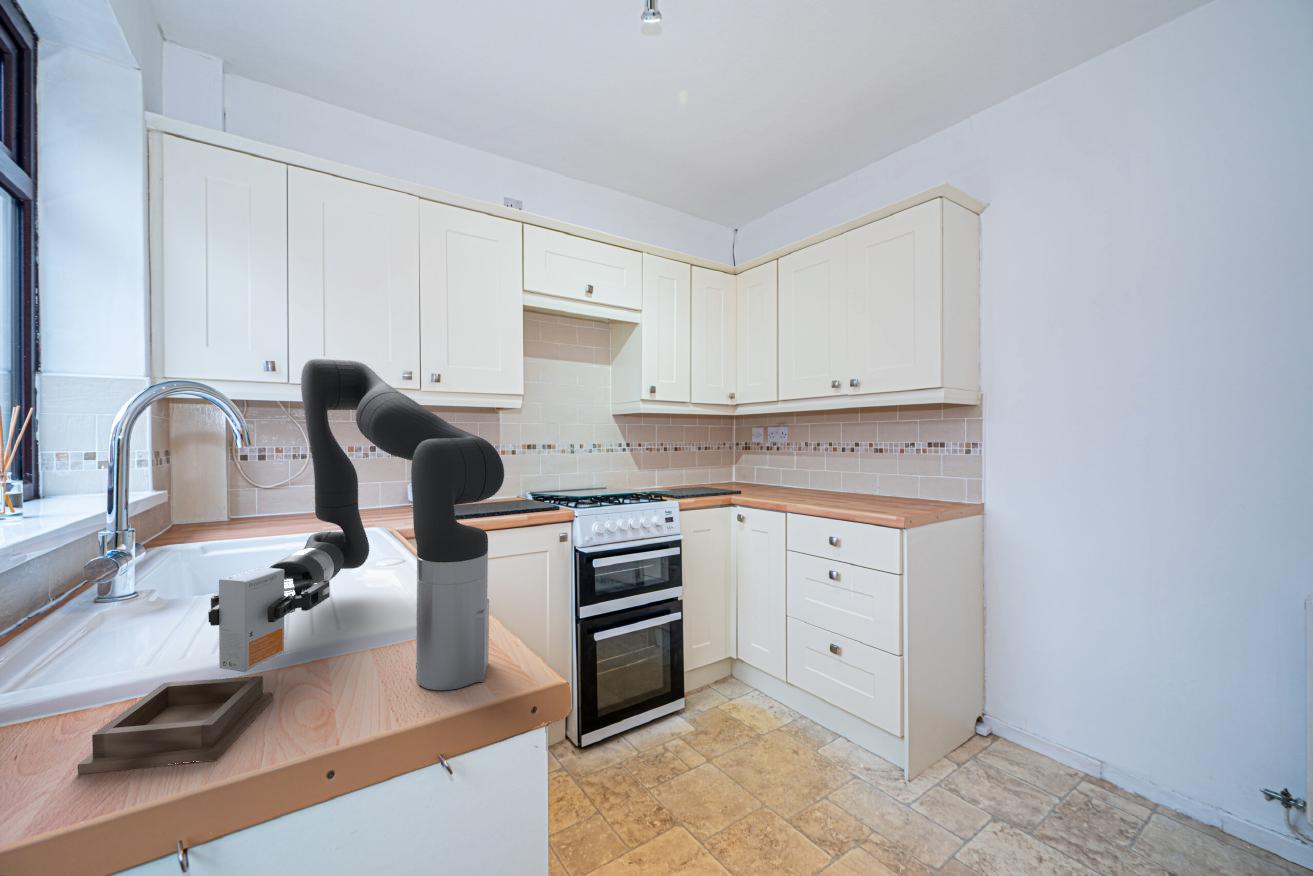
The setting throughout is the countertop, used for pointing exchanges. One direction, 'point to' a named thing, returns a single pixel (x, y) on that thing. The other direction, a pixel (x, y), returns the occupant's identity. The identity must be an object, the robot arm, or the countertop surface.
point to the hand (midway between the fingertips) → (242, 616)
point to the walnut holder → (178, 724)
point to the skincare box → (249, 618)
